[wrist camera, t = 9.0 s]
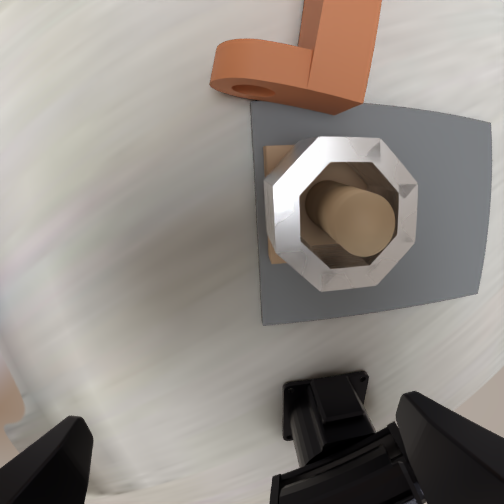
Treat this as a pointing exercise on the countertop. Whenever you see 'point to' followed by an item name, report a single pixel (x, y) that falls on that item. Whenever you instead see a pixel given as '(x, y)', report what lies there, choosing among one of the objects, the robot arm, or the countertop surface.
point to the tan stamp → (338, 209)
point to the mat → (428, 208)
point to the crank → (306, 60)
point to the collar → (334, 255)
